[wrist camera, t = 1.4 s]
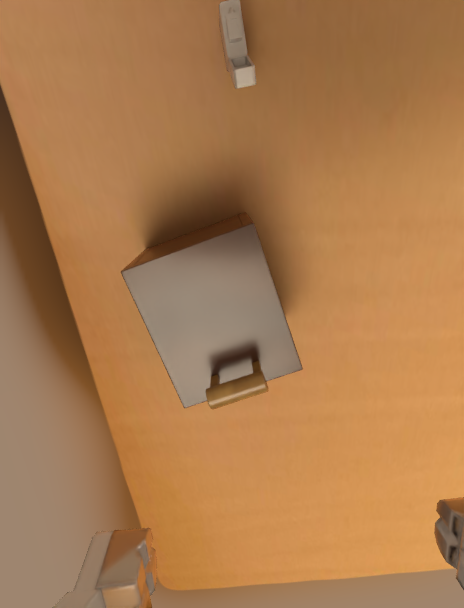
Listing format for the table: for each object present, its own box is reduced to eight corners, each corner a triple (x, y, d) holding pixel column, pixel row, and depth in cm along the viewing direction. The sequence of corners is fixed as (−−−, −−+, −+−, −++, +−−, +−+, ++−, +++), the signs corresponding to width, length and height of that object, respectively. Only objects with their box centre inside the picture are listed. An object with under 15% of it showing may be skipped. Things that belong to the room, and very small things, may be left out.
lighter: (219, 23, 35) (218, -21, 28) (237, 19, 35) (241, -26, 28) (233, 106, 37) (235, 87, 30) (250, 102, 37) (257, 82, 30)
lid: (301, 365, 35) (313, 393, 31) (185, 403, 36) (179, 436, 32) (252, 221, 31) (258, 228, 26) (122, 269, 32) (105, 284, 27)
